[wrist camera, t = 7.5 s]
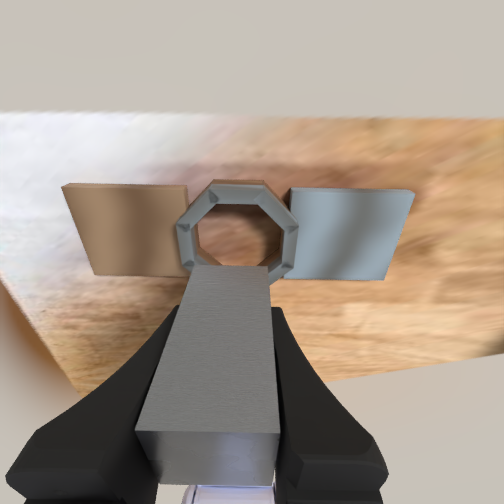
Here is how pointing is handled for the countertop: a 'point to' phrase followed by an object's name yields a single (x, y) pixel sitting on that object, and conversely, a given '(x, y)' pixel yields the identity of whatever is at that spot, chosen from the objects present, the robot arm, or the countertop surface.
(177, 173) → the countertop surface
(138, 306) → the countertop surface
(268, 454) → the grey metal brick
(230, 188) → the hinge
